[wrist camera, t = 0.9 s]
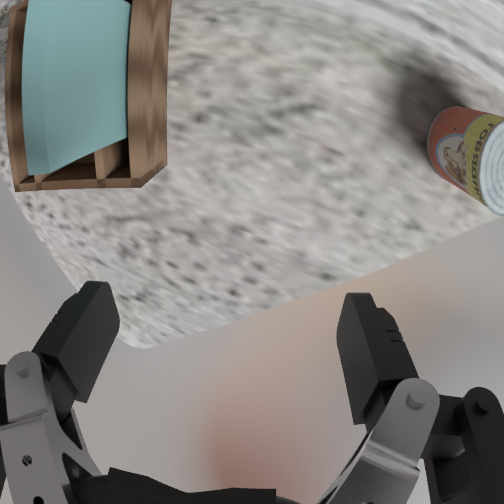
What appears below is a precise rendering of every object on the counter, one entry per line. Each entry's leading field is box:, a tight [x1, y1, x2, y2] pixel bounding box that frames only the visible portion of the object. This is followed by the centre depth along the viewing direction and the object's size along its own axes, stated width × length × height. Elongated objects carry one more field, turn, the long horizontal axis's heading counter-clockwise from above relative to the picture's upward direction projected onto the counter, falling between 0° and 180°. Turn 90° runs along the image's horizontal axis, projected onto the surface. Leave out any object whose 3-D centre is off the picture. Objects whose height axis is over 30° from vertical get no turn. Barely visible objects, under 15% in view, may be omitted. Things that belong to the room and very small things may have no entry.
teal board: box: [22, 0, 132, 175], centre depth 21 cm, size 14×2×20 cm, turn 177°
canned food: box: [427, 106, 504, 216], centre depth 28 cm, size 11×11×12 cm
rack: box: [5, 0, 172, 192], centre depth 26 cm, size 24×18×10 cm
